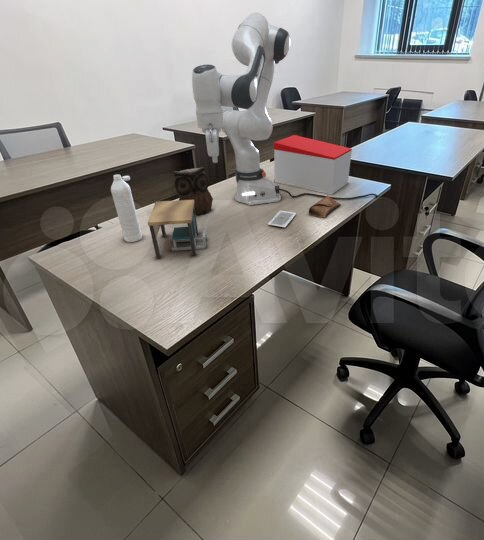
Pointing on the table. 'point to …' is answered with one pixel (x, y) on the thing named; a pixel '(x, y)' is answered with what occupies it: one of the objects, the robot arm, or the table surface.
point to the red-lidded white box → (311, 164)
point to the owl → (194, 189)
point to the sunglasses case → (323, 207)
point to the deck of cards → (282, 218)
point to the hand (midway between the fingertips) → (215, 161)
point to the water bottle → (125, 208)
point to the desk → (171, 219)
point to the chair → (187, 236)
